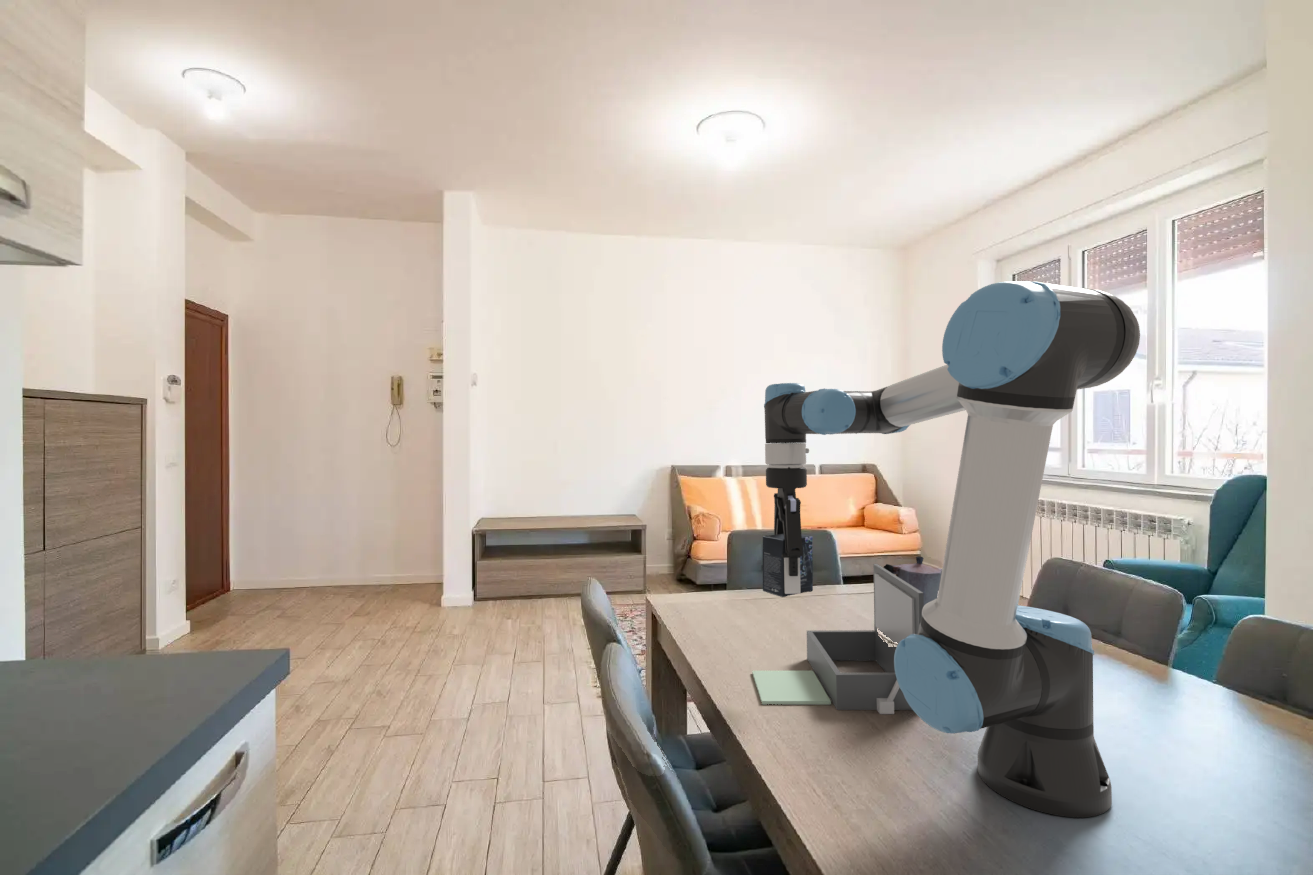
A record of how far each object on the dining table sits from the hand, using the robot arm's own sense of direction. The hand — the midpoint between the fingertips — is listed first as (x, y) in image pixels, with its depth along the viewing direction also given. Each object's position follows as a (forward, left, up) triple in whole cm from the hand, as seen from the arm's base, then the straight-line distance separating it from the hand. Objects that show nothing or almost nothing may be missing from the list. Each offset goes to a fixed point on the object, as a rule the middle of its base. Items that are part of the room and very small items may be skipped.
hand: (787, 586), depth 113 cm
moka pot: (+23, -32, -19) cm, 44 cm away
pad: (0, 0, -19) cm, 19 cm away
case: (+3, -14, -19) cm, 24 cm away
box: (0, 0, -1) cm, 1 cm away
